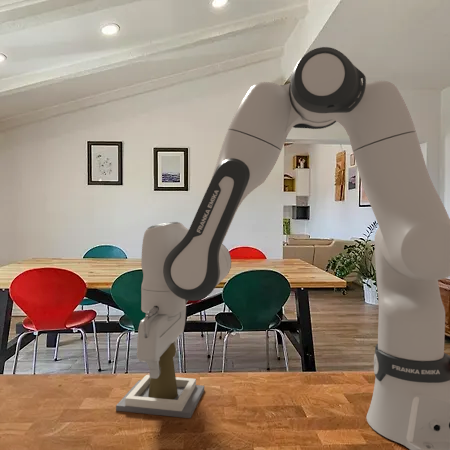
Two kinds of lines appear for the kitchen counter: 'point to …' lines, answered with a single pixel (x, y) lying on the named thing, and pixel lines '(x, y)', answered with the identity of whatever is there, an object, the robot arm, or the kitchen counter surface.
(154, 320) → the robot arm
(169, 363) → the olive knobbed peg
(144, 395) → the notch board
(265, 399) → the kitchen counter surface
